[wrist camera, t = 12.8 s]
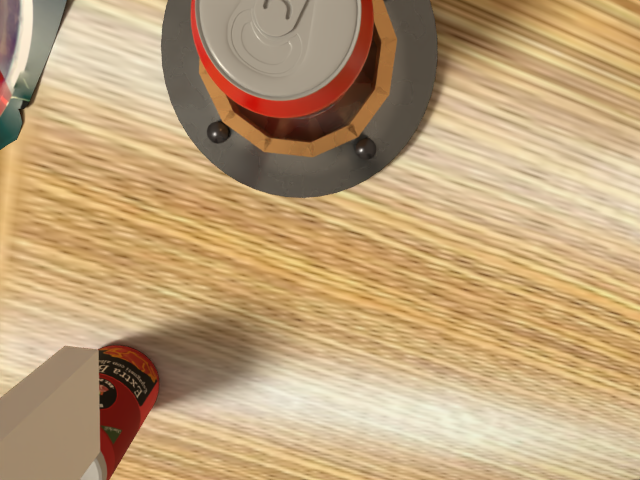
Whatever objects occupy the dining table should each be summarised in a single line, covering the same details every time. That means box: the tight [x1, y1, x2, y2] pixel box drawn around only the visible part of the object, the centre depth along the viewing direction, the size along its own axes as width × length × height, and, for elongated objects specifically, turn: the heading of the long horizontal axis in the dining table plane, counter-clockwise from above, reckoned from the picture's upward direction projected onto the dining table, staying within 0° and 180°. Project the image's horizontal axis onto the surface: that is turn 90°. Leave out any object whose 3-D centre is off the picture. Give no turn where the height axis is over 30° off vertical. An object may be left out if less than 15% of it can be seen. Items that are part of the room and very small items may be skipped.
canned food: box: [80, 345, 159, 480], centre depth 34 cm, size 8×8×11 cm
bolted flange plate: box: [161, 0, 437, 198], centre depth 30 cm, size 20×20×4 cm
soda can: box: [191, 0, 374, 119], centre depth 24 cm, size 8×8×15 cm
